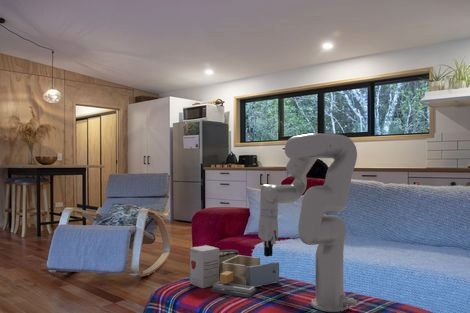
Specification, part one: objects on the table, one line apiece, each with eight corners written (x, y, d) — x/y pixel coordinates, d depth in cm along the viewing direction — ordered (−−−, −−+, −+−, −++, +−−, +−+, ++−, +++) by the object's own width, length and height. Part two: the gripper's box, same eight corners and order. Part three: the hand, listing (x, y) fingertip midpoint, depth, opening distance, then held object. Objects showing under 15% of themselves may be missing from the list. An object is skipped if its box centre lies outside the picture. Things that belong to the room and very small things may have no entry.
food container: (230, 269, 185) (230, 248, 186) (239, 272, 180) (239, 250, 181) (209, 274, 177) (209, 251, 178) (217, 276, 173) (217, 254, 173)
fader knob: (233, 285, 155) (233, 271, 155) (227, 289, 151) (227, 274, 151) (226, 284, 157) (226, 270, 157) (219, 287, 152) (219, 273, 152)
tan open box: (260, 278, 170) (260, 257, 171) (244, 288, 156) (244, 265, 156) (237, 275, 175) (237, 255, 176) (220, 284, 161) (220, 262, 161)
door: (280, 282, 164) (280, 262, 164) (248, 289, 154) (248, 267, 155) (277, 281, 165) (277, 261, 166) (245, 287, 156) (245, 266, 157)
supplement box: (189, 283, 162) (189, 247, 163) (206, 279, 168) (206, 244, 169) (202, 288, 156) (202, 251, 156) (219, 284, 162) (219, 248, 162)
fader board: (256, 291, 152) (256, 285, 152) (248, 297, 145) (248, 291, 145) (220, 286, 159) (220, 280, 159) (210, 291, 152) (210, 285, 152)
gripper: (253, 211, 173) (252, 252, 173) (269, 215, 160) (268, 260, 159) (268, 210, 176) (267, 251, 176) (285, 215, 163) (284, 259, 162)
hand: (268, 255), depth 168 cm, fingers closed
